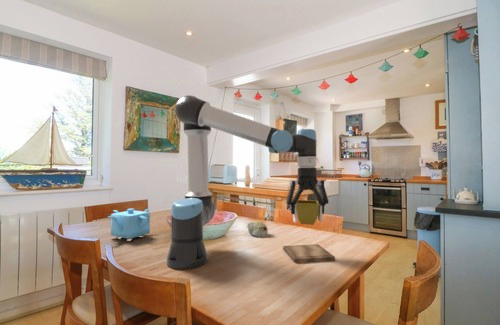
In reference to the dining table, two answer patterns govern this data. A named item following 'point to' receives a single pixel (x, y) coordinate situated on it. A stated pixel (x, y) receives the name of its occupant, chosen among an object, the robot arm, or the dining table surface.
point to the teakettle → (130, 223)
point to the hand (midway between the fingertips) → (307, 221)
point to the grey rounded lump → (257, 229)
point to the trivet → (308, 253)
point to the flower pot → (307, 211)
